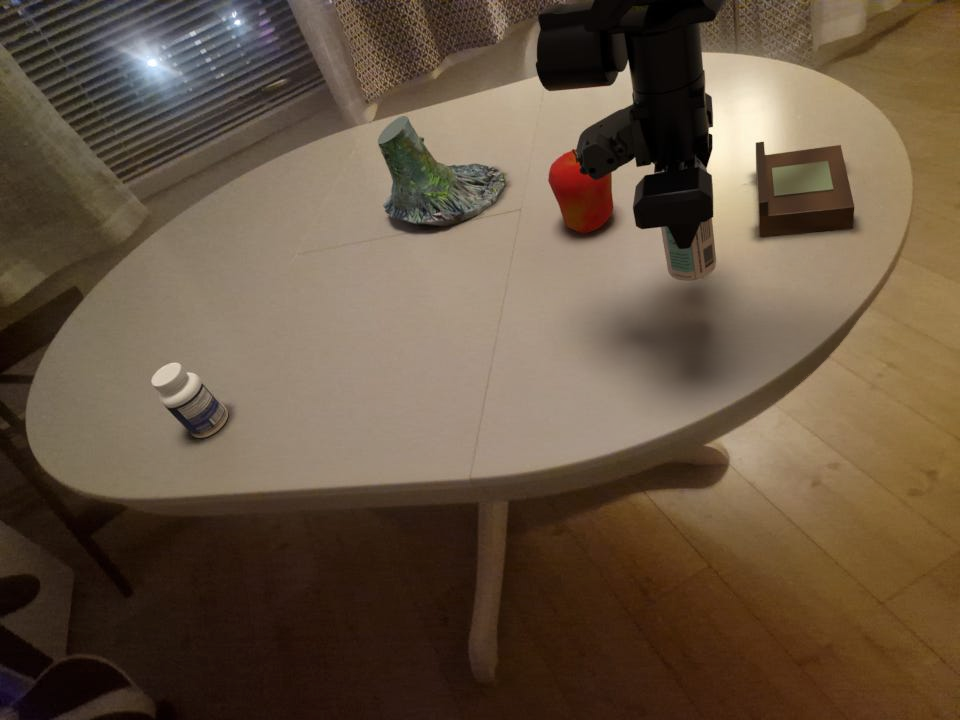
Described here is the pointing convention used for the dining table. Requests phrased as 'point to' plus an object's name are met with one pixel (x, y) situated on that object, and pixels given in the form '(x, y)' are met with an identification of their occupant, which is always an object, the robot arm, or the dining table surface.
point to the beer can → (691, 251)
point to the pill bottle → (189, 400)
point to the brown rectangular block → (803, 191)
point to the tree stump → (433, 181)
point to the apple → (580, 194)
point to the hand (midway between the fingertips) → (685, 232)
